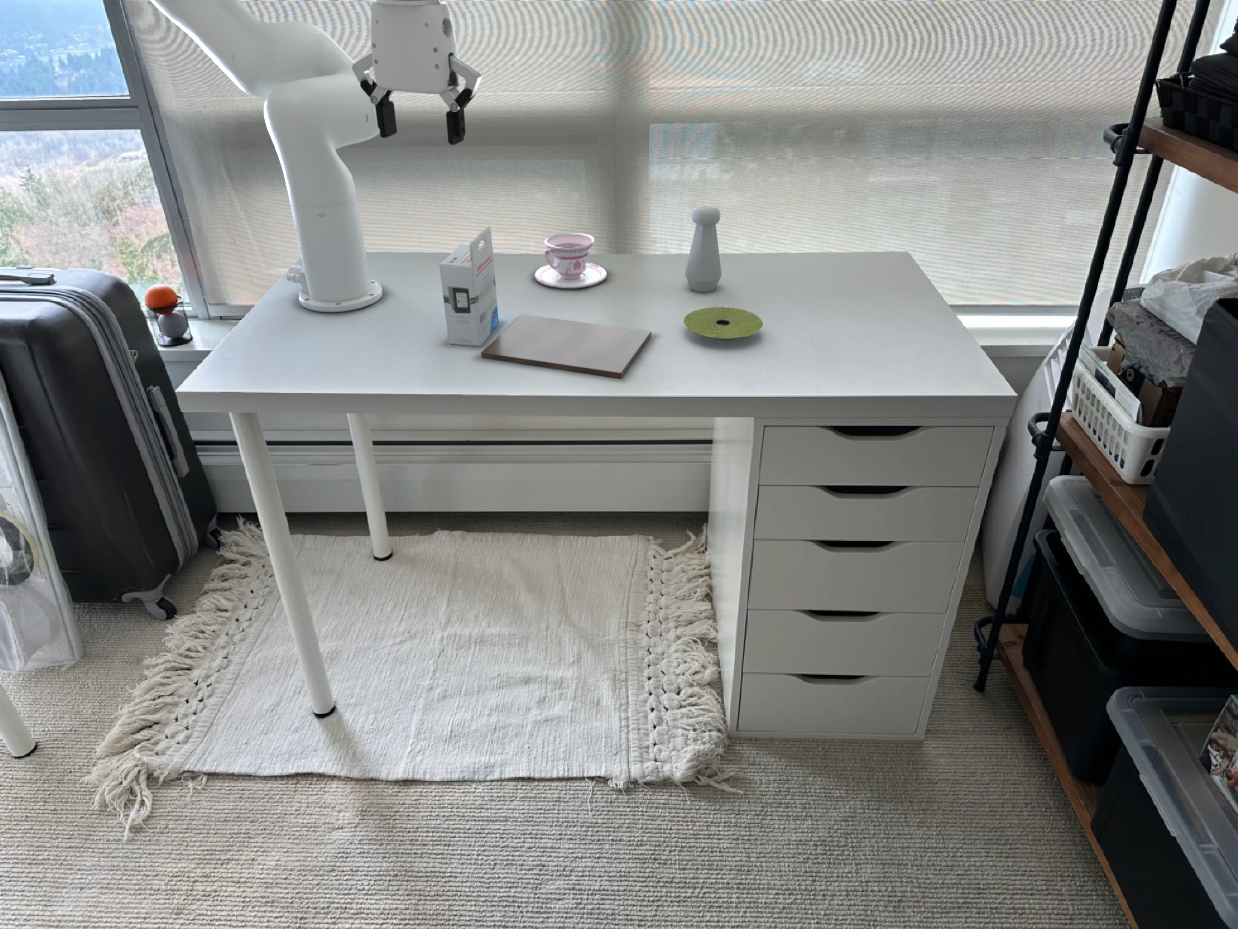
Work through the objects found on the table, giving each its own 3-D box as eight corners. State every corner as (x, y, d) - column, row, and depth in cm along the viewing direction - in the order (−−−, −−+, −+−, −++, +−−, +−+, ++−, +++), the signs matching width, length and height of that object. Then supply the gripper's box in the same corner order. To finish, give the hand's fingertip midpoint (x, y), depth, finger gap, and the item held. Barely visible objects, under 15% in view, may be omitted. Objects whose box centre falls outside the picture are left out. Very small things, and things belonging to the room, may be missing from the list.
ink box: (468, 320, 127) (458, 221, 119) (500, 323, 127) (491, 224, 119) (447, 344, 120) (435, 241, 112) (480, 347, 119) (470, 243, 112)
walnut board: (481, 357, 117) (480, 352, 116) (522, 319, 128) (522, 314, 127) (621, 378, 111) (621, 372, 111) (651, 336, 123) (651, 331, 122)
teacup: (575, 259, 150) (574, 224, 147) (621, 277, 143) (621, 241, 139) (520, 276, 143) (517, 239, 140) (566, 295, 136) (564, 257, 132)
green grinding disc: (743, 356, 117) (744, 343, 116) (669, 340, 122) (670, 327, 120) (773, 327, 125) (774, 315, 124) (703, 313, 130) (703, 301, 129)
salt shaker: (726, 285, 140) (732, 205, 133) (710, 296, 135) (715, 214, 128) (694, 278, 142) (698, 199, 135) (677, 289, 138) (681, 208, 131)
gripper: (487, -11, 103) (495, 138, 112) (359, -18, 107) (377, 127, 116) (460, -5, 97) (471, 151, 106) (325, -13, 101) (347, 139, 110)
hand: (422, 138), depth 111 cm, fingers open, 9 cm apart
